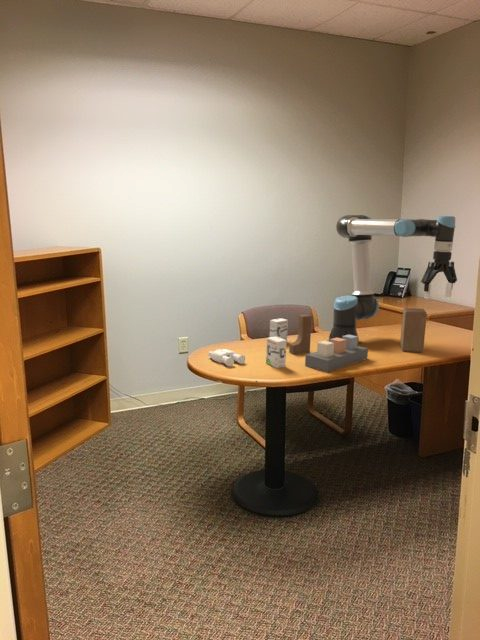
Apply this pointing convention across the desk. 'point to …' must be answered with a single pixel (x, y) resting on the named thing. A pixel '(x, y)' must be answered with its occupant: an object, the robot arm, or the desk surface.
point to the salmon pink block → (339, 345)
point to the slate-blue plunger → (351, 341)
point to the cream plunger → (325, 349)
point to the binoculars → (226, 357)
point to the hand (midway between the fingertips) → (437, 297)
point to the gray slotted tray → (336, 359)
